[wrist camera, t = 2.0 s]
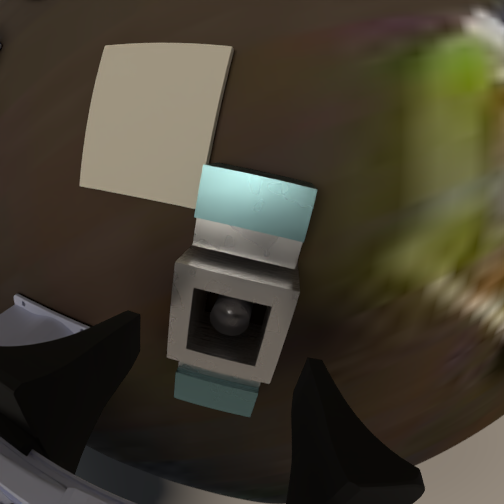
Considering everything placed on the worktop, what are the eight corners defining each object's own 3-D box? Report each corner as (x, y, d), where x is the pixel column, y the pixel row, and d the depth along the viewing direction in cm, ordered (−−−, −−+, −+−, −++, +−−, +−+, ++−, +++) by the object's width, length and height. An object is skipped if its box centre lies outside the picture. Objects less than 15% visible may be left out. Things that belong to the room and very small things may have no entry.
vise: (186, 369, 20) (174, 397, 17) (218, 162, 15) (203, 164, 13) (254, 386, 20) (249, 417, 17) (311, 183, 15) (317, 189, 12)
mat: (85, 184, 17) (79, 186, 16) (110, 48, 14) (105, 45, 13) (200, 207, 16) (197, 209, 16) (233, 50, 13) (232, 46, 13)
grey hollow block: (188, 320, 19) (166, 357, 15) (199, 237, 17) (175, 261, 13) (273, 341, 18) (269, 383, 15) (297, 260, 17) (300, 292, 13)
